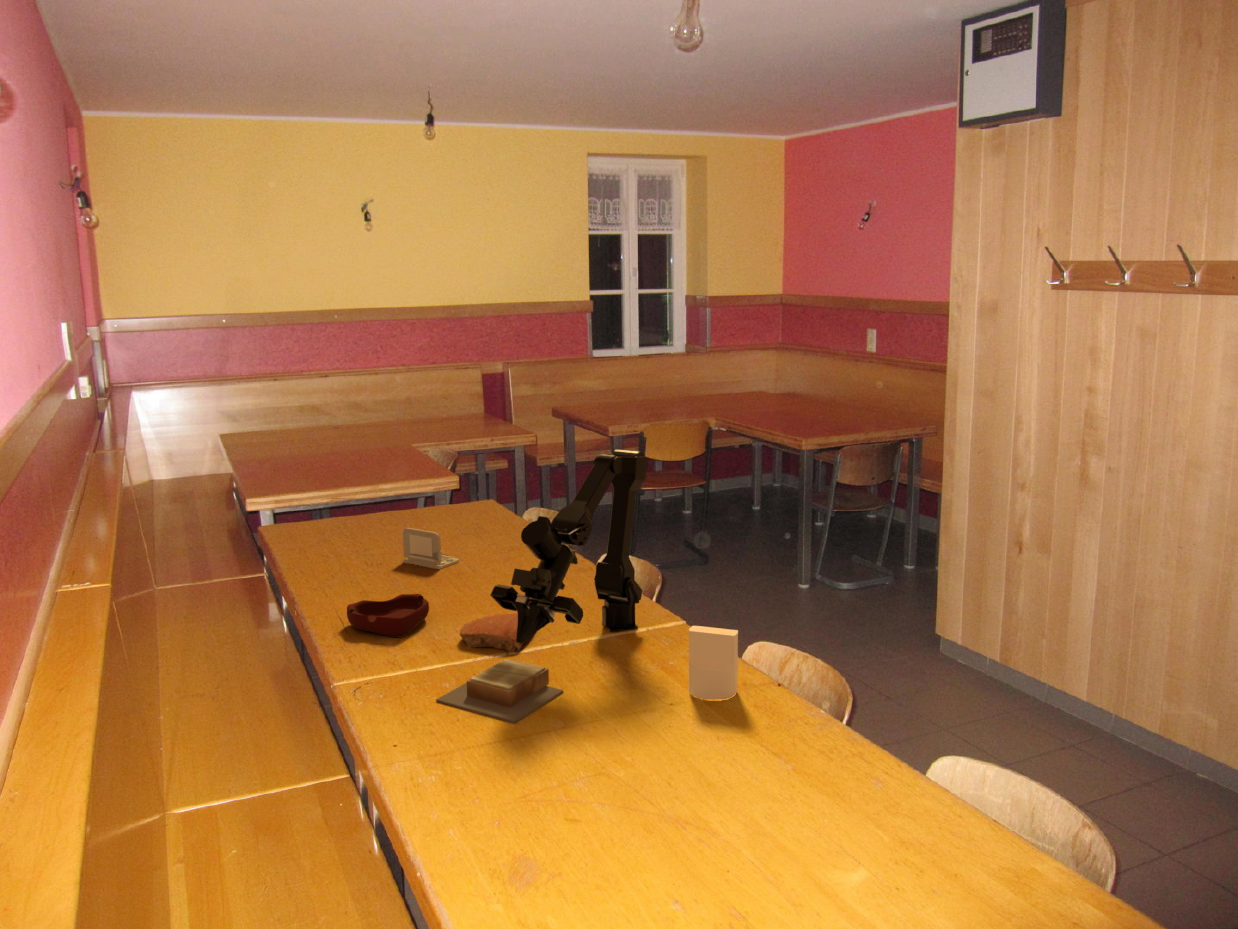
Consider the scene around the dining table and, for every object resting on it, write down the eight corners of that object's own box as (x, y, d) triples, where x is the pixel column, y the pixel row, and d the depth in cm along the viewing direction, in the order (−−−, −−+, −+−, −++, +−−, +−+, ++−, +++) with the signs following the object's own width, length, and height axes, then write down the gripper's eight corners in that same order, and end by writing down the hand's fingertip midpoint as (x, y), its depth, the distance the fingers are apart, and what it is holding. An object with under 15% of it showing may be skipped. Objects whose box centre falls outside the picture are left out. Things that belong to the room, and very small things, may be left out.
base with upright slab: (741, 685, 184) (742, 625, 181) (731, 704, 175) (732, 641, 173) (695, 679, 187) (695, 620, 184) (683, 698, 178) (683, 636, 176)
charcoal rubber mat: (487, 673, 190) (487, 671, 190) (563, 692, 181) (563, 690, 181) (436, 701, 178) (436, 699, 178) (514, 723, 169) (514, 721, 169)
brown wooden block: (506, 657, 189) (466, 678, 178) (548, 667, 183) (509, 689, 173) (506, 673, 189) (467, 696, 179) (548, 683, 184) (510, 707, 174)
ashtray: (360, 647, 205) (359, 625, 204) (344, 624, 220) (342, 603, 219) (442, 633, 213) (441, 611, 213) (421, 611, 228) (420, 590, 227)
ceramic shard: (477, 602, 217) (540, 615, 215) (473, 630, 218) (536, 644, 215) (453, 616, 203) (521, 630, 200) (449, 645, 203) (517, 660, 201)
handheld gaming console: (461, 562, 267) (459, 526, 265) (438, 570, 260) (436, 534, 258) (425, 555, 274) (424, 521, 272) (402, 563, 266) (400, 528, 265)
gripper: (494, 544, 189) (459, 615, 182) (573, 557, 180) (540, 632, 173) (519, 573, 197) (487, 641, 190) (597, 586, 188) (566, 659, 181)
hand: (518, 643), depth 183 cm, fingers closed
